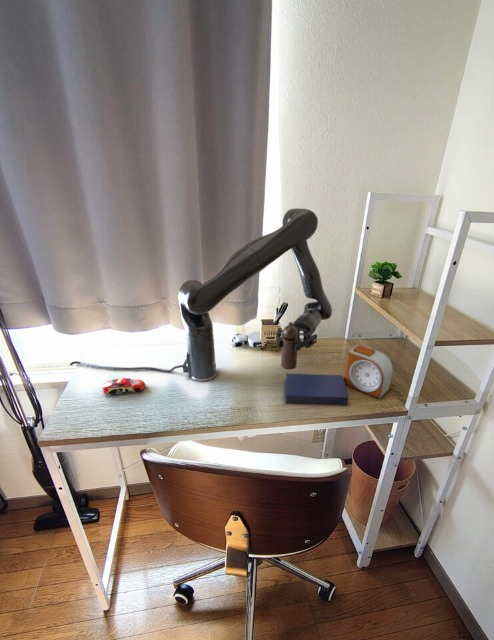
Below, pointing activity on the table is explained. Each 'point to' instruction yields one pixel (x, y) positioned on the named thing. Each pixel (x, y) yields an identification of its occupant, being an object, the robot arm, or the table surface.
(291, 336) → the pepper mill
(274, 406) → the table surface
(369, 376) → the alarm clock
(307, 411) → the table surface
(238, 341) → the robot toy
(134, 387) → the race car
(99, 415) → the table surface
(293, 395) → the book
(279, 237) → the robot arm
